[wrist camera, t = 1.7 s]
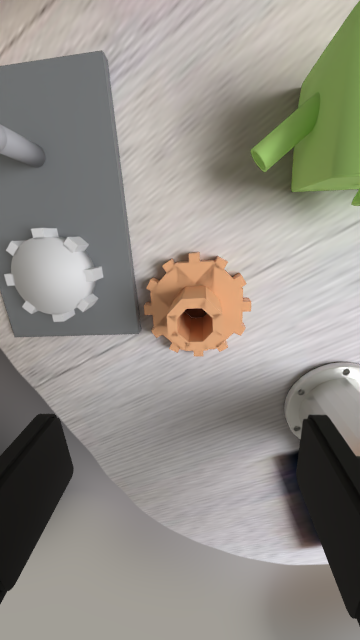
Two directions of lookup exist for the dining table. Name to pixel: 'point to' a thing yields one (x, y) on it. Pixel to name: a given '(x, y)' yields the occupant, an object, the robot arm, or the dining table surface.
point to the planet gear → (197, 304)
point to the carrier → (63, 202)
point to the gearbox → (324, 120)
